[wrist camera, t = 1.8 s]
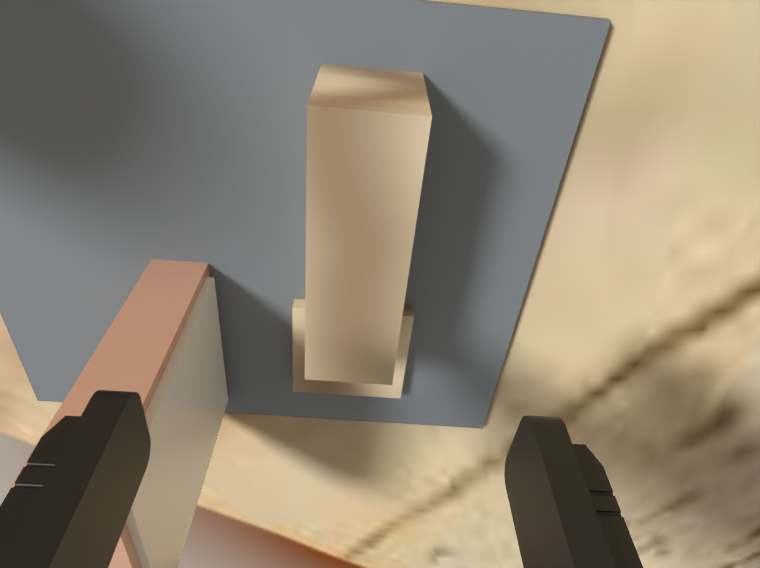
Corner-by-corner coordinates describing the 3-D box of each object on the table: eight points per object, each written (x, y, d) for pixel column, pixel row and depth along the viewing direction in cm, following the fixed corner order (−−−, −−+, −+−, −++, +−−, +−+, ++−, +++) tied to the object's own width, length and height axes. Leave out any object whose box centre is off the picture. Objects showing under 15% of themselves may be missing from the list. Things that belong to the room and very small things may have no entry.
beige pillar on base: (450, 75, 17) (467, 119, 14) (400, 388, 26) (402, 460, 22) (292, 60, 17) (271, 102, 14) (294, 381, 25) (282, 453, 22)
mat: (607, 18, 16) (611, 20, 16) (481, 423, 28) (482, 428, 27) (-149, -58, 15) (-158, -58, 15) (40, 395, 27) (37, 400, 26)
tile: (215, 263, 21) (115, 490, 13) (230, 399, 26) (163, 627, 18) (151, 258, 21) (11, 484, 13) (178, 395, 26) (87, 623, 18)
